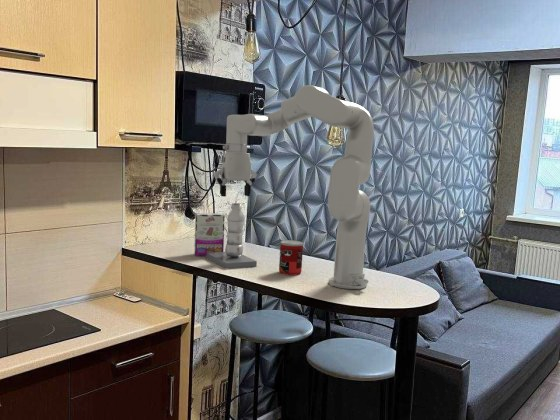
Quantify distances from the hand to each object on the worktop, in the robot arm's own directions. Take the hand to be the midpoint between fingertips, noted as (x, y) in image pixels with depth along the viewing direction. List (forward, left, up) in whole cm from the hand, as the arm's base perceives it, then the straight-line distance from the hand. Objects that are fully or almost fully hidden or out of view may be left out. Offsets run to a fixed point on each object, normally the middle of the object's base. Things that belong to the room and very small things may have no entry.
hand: (235, 196), depth 200 cm
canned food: (-21, -13, -25) cm, 35 cm away
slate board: (0, 0, -25) cm, 25 cm away
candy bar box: (+14, +3, -25) cm, 29 cm away
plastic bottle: (0, -1, -23) cm, 23 cm away
